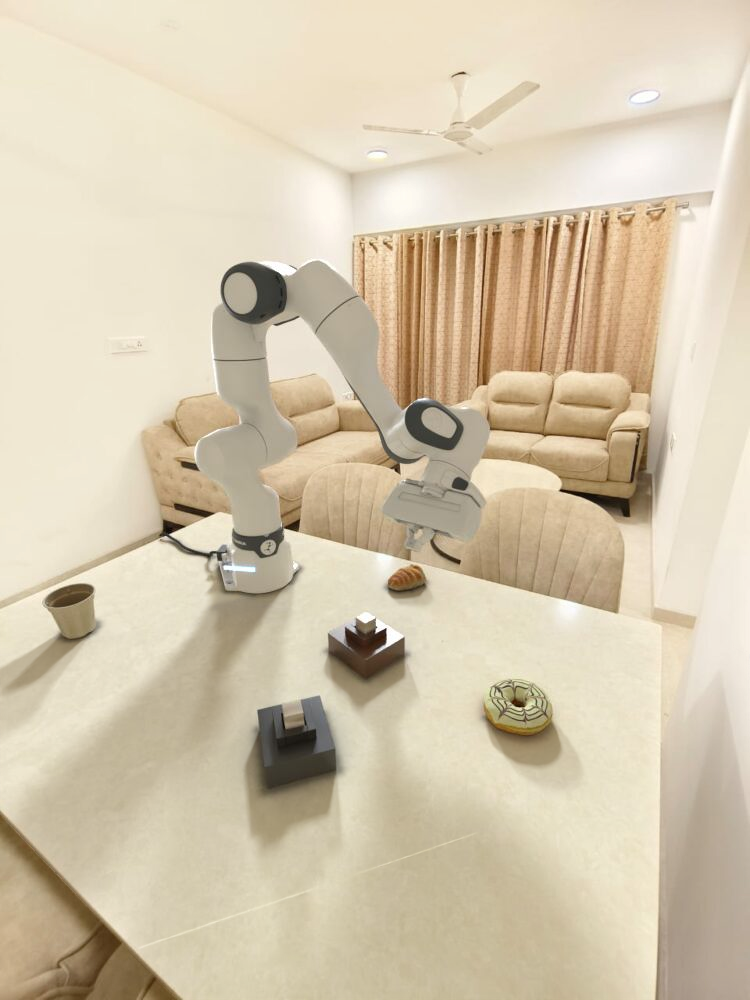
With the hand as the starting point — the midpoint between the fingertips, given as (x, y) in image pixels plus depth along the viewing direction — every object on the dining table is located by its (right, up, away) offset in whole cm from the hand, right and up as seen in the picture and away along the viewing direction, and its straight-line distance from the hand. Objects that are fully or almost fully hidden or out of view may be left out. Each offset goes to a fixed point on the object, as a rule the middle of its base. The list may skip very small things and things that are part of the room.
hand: (411, 549), depth 92 cm
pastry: (+1, -11, +29) cm, 31 cm away
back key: (-8, -15, +3) cm, 18 cm away
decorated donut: (+17, -26, -10) cm, 33 cm away
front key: (-19, -24, -18) cm, 35 cm away
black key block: (-19, -29, -16) cm, 38 cm away
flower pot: (-69, -18, +13) cm, 72 cm away
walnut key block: (-8, -21, +5) cm, 23 cm away
